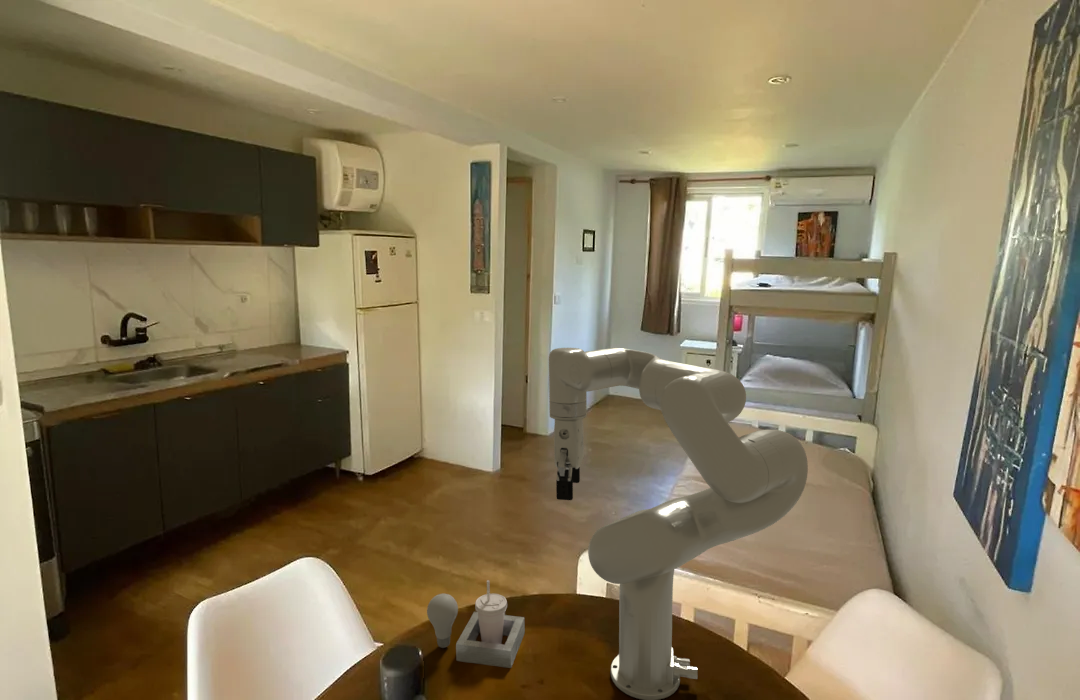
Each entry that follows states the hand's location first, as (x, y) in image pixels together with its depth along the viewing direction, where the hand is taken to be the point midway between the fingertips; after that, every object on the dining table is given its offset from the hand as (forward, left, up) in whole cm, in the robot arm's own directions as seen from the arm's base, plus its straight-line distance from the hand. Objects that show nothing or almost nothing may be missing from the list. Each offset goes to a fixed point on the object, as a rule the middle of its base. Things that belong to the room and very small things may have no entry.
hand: (568, 490), depth 115 cm
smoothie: (+14, +9, -31) cm, 35 cm away
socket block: (+15, +9, -30) cm, 35 cm away
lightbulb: (+24, +11, -31) cm, 40 cm away
